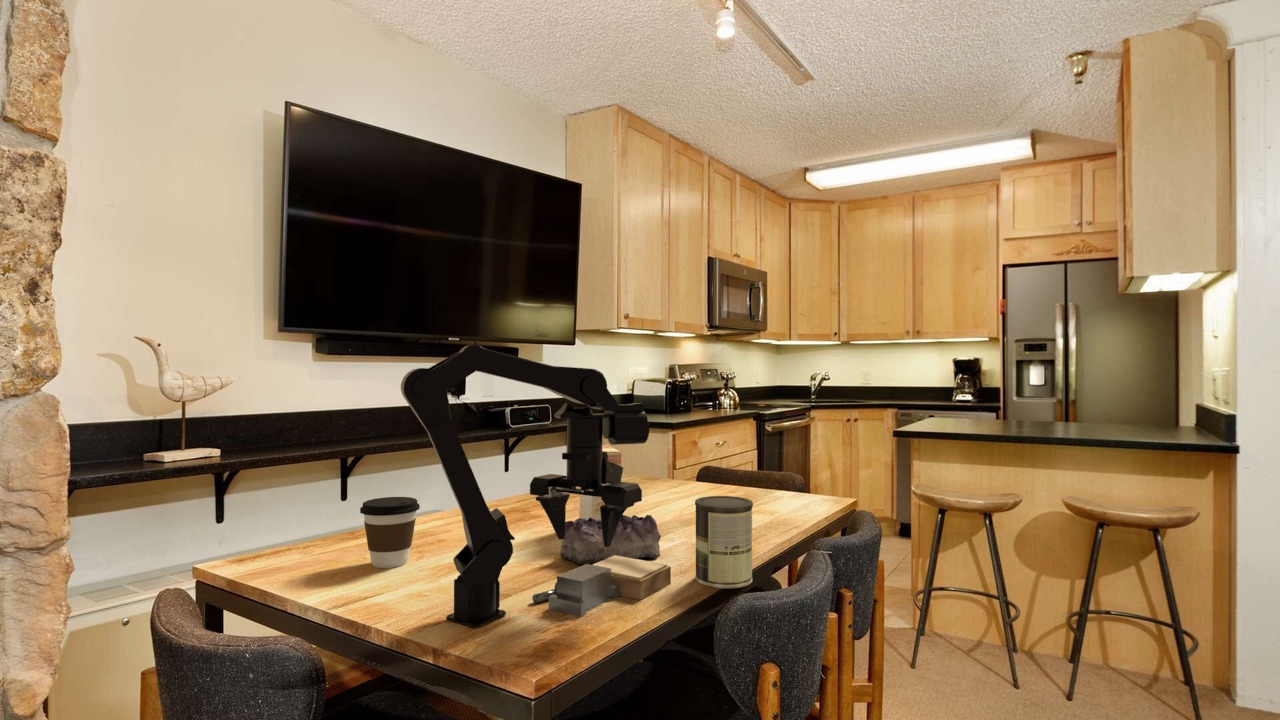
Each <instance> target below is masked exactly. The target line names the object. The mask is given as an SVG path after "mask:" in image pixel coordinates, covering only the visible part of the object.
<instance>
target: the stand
mask: <svg viewBox="0 0 1280 720" xmlns="http://www.w3.org/2000/svg"><path fill="white" fill-rule="evenodd" d="M592 565H595V566H600V567H606V568H611V584H613V585H618V586H619V597H620V596H621V597H626V598H630V599H635V600H640V601H641V600H643V599H645V598H648V597H649V596H650V595H653V594H654V593H656V592H658V591H660V590H662V589H663V588H665V587H667V586H669V585H671V582H672V581H671V578H672V577H671V576H672V575H671V568H672V566H671V565H670V566H669V565H667V563H659V562H655V561H648V560H644V559H640V558H639V559H633V558H627V557H621V556H616V555H614V556H612V557H609V558H607V559H605V560H602V561H600V562H594V563H592Z"/></svg>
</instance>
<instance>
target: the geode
mask: <svg viewBox="0 0 1280 720" xmlns="http://www.w3.org/2000/svg"><path fill="white" fill-rule="evenodd" d="M661 538H662V536H661V534H660V532H659V529H658V524H657V522H656V520H655V518H653V516H652V515H651V514H647V515H645V516H637V515H635V514H633V515H632V516H628V515H625V514H623V515H622V517H621V519H620V521H619V523H618V526H617V529H616V532H615V535H614V537H613V540H612V543H611V546H610V547H605V545H604V541H603V533H602V522H601V521H596V520H595V519H592V518H589V519H588V520H586V519H582V518H579V517H578V518H577V519H575V520H574V521H573V520H568V521H565V536H564V539H562V541H561V545H560V551H559V555H560V557H561V558H564V559H567V560H570V561H573V562H575V563H576V564H579V565H585V564H594V563H598V562H600V561H602V560H605V559H607V558H609V557H612V556H614V555H616V556H621V557H627V558H633V559H639V560H640V559H643V558H648V559H655V560H657V559H658V558H659V557H660V556H661V554H660V551H661V550H660V548H661V547H660V544H659V543H660V541H661Z"/></svg>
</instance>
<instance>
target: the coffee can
mask: <svg viewBox="0 0 1280 720" xmlns="http://www.w3.org/2000/svg"><path fill="white" fill-rule="evenodd" d="M694 504H695V577H694V578H695V581H696V582H698V583H699V584H700V585H703V586H705V587H708V588H709V587H710V588H714V589H715V588H716V589H738V588H744V587H746V586H749V585H750V584H751V583H753V506H754V505H753V504H754V502H753V501H752V500H750V499H749V498H746V497H739V496H732V495H731V496H730V495H711V496H709V495H708V496H702V497H699V498H697V499H695V501H694Z"/></svg>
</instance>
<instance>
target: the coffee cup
mask: <svg viewBox="0 0 1280 720" xmlns="http://www.w3.org/2000/svg"><path fill="white" fill-rule="evenodd" d="M420 507H421V506H420V503H418V499H416V498H415V497H410V496H388V497H387V496H385V497H378V498H372V499H368V500H366V501H364V502H363V503H362V506H361V507H360V509H359V512H360V514H362V515H363V517H364V520H363V523H364V529H365V536H366V542H367V547H368V551H369V554H370V555H369V556H370V561H371V562H370V563H371V564H372V565H373V566H372V567H374V568H377V569H391V568H392V569H393V568H398V567H402V566H404V565H405V564H407V562H408V560H409V557H410V556H409V555H410V551H411V547H412V545H413V539H414V538H413V537H414V533H415V532H414V531H415V527H416V526H415V525H416V514H417V511H418V510H420Z"/></svg>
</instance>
